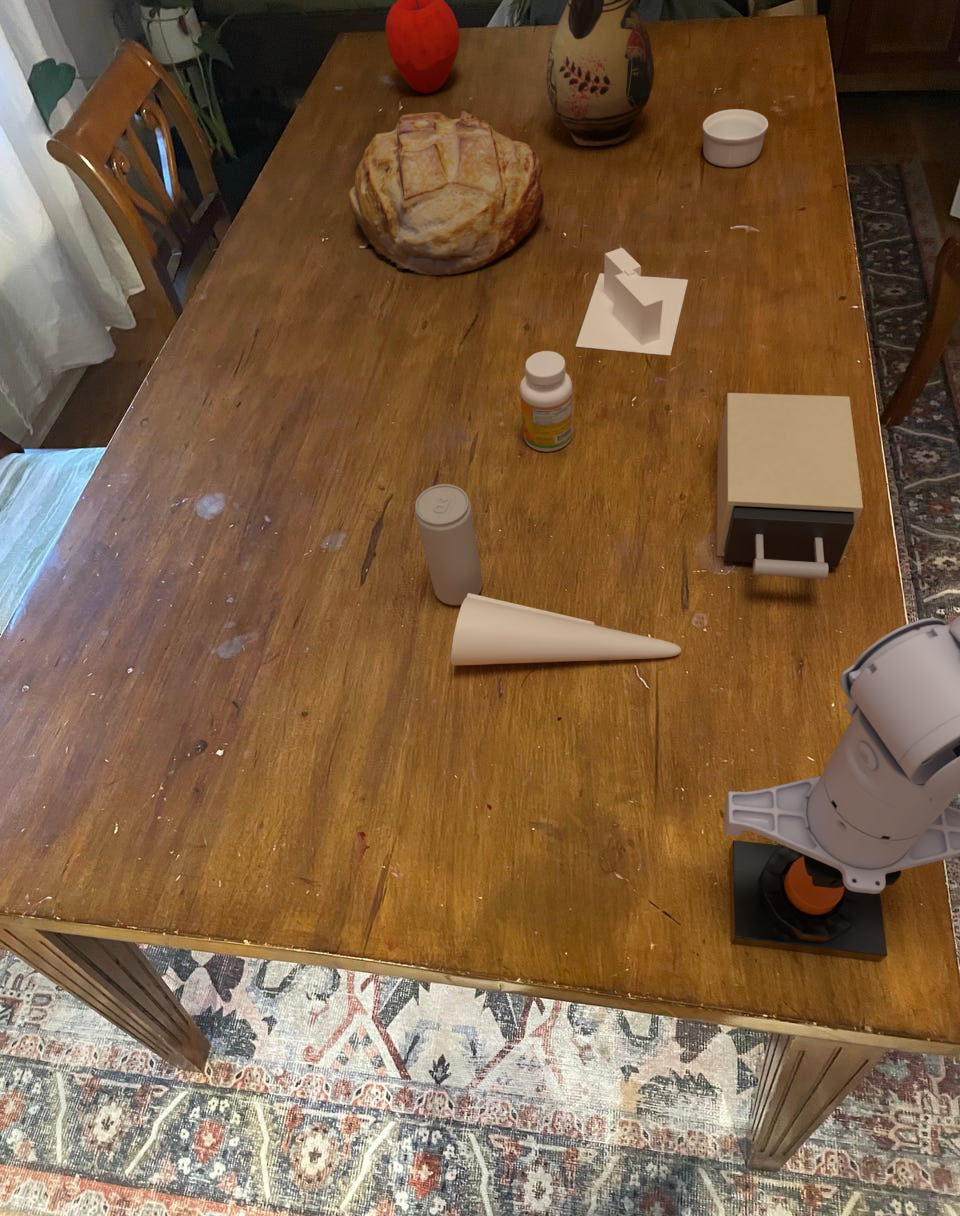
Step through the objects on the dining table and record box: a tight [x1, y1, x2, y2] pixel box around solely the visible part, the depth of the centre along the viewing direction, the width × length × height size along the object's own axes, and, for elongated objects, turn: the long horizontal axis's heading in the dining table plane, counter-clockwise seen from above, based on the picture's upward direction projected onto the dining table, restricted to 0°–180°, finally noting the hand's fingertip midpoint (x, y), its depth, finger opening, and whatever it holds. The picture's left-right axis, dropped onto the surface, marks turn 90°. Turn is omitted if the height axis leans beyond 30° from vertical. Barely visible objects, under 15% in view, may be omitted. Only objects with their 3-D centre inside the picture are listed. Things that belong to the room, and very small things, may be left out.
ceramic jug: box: [546, 0, 655, 147], centre depth 117 cm, size 17×15×30 cm
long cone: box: [450, 593, 682, 666], centre depth 74 cm, size 6×6×19 cm
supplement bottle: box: [519, 350, 574, 453], centre depth 88 cm, size 5×5×10 cm
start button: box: [784, 857, 844, 915], centre depth 58 cm, size 4×4×2 cm
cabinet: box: [716, 392, 864, 565], centre depth 80 cm, size 14×11×8 cm
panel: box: [729, 839, 888, 963], centre depth 60 cm, size 10×7×4 cm
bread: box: [348, 108, 545, 276], centre depth 113 cm, size 25×27×15 cm
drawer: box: [723, 506, 854, 580], centre depth 78 cm, size 18×10×6 cm, turn 171°
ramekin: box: [702, 108, 769, 168], centre depth 120 cm, size 9×9×4 cm
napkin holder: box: [575, 247, 689, 356], centre depth 101 cm, size 15×11×6 cm
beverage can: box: [414, 483, 484, 606], centre depth 76 cm, size 5×5×12 cm
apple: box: [384, 0, 461, 94], centre depth 139 cm, size 12×12×13 cm
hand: (822, 872), depth 56 cm, fingers closed
